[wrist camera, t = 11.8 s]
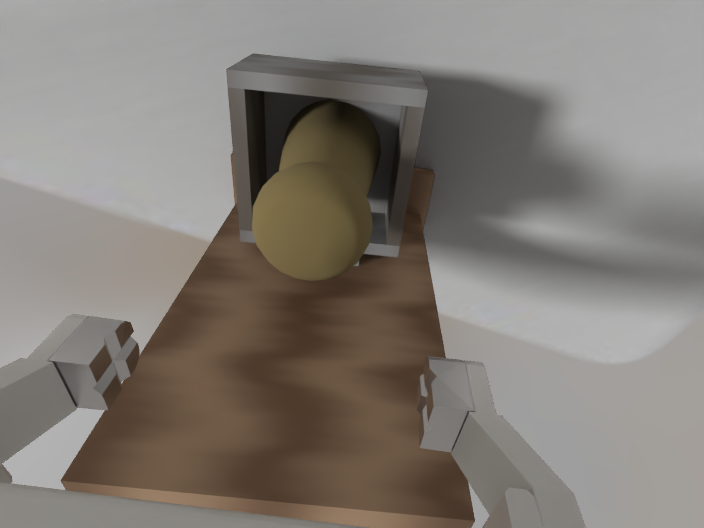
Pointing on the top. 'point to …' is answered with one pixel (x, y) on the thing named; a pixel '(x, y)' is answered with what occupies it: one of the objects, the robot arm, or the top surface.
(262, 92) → the cup bracket
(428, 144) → the top surface
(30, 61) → the top surface
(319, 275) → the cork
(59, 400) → the robot arm
